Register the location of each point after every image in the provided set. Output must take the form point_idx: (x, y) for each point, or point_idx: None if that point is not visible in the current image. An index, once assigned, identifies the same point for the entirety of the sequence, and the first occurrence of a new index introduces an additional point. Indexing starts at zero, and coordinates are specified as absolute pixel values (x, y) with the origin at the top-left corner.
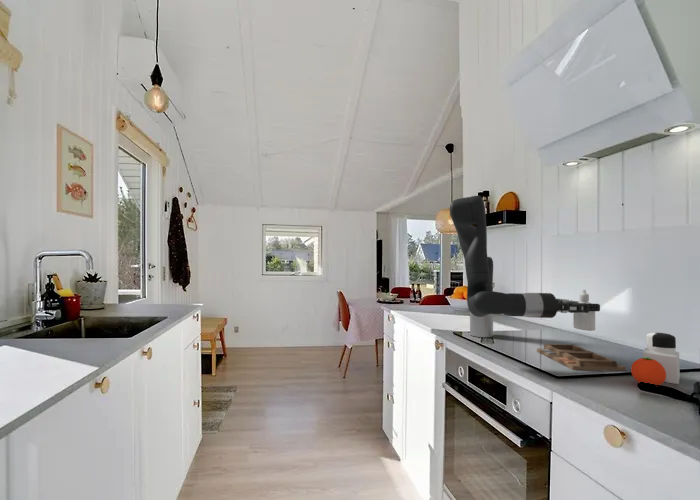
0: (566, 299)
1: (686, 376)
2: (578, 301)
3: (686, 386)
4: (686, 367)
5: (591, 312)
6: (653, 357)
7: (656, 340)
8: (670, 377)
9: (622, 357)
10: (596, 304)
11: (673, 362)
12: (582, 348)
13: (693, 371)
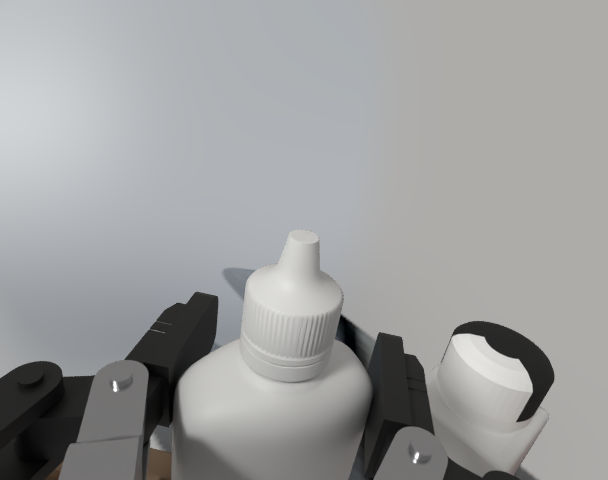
0: (112, 462)
1: None
2: (180, 341)
3: (524, 471)
4: None
5: (361, 434)
6: (516, 463)
7: (539, 398)
8: None
9: None
10: (403, 356)
11: (537, 436)
12: None
13: (356, 327)
